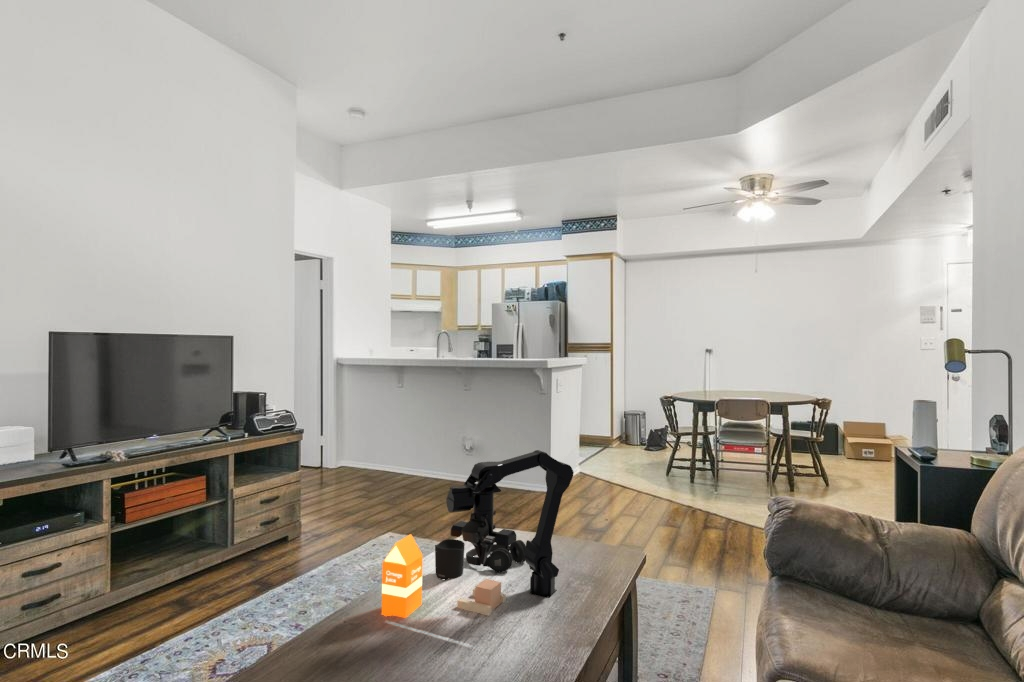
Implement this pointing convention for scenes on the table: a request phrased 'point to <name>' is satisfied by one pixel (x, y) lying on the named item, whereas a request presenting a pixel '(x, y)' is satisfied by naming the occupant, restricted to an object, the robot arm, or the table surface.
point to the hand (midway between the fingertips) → (482, 563)
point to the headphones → (500, 556)
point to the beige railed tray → (477, 605)
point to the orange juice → (402, 579)
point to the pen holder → (449, 559)
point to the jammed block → (488, 593)
